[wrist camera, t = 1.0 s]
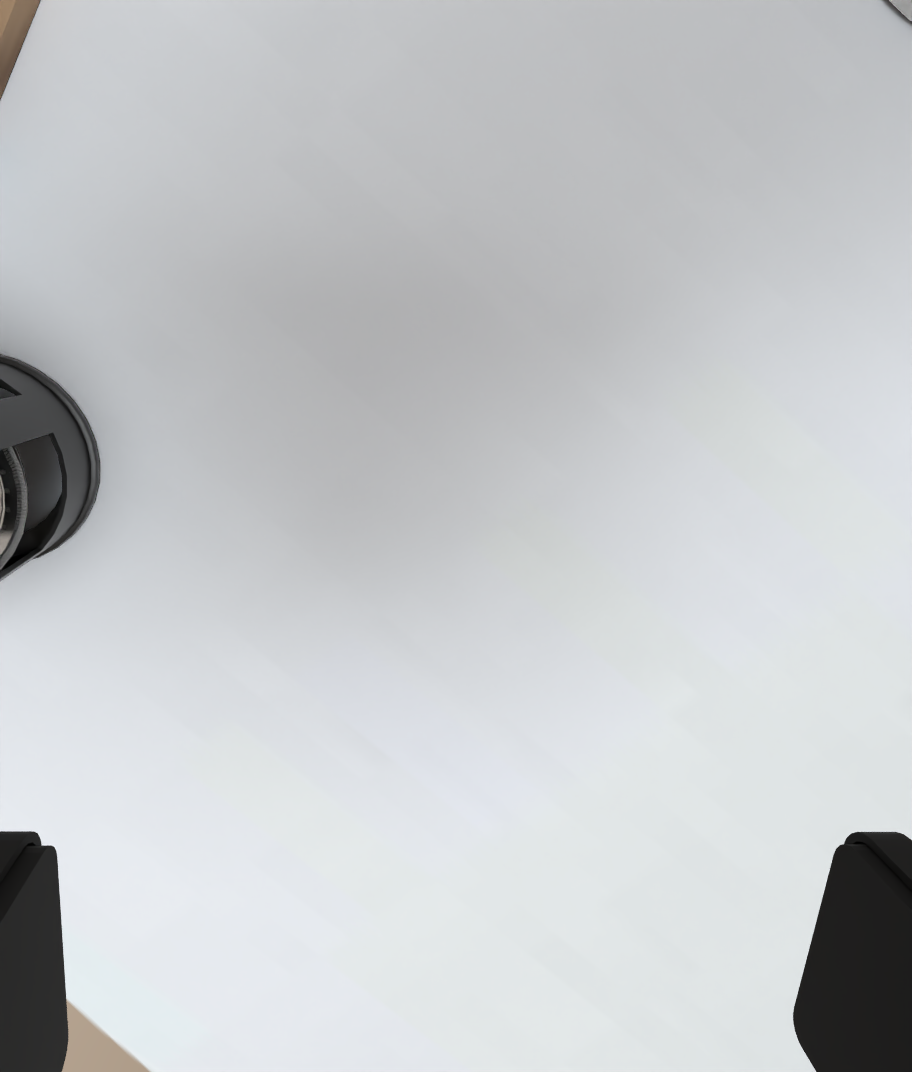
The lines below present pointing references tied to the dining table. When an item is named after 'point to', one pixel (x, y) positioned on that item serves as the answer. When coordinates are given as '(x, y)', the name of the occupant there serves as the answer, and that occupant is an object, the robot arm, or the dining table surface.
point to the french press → (58, 415)
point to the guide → (13, 33)
